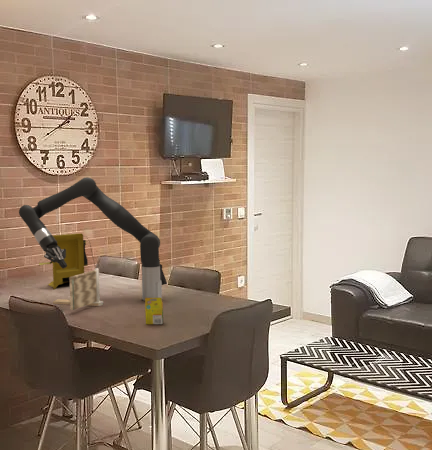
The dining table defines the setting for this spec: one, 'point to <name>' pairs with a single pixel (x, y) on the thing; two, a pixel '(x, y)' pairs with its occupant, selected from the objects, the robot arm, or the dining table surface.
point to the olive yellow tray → (69, 258)
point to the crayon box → (154, 311)
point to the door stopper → (162, 276)
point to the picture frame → (98, 303)
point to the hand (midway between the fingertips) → (65, 267)
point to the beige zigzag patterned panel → (82, 289)
